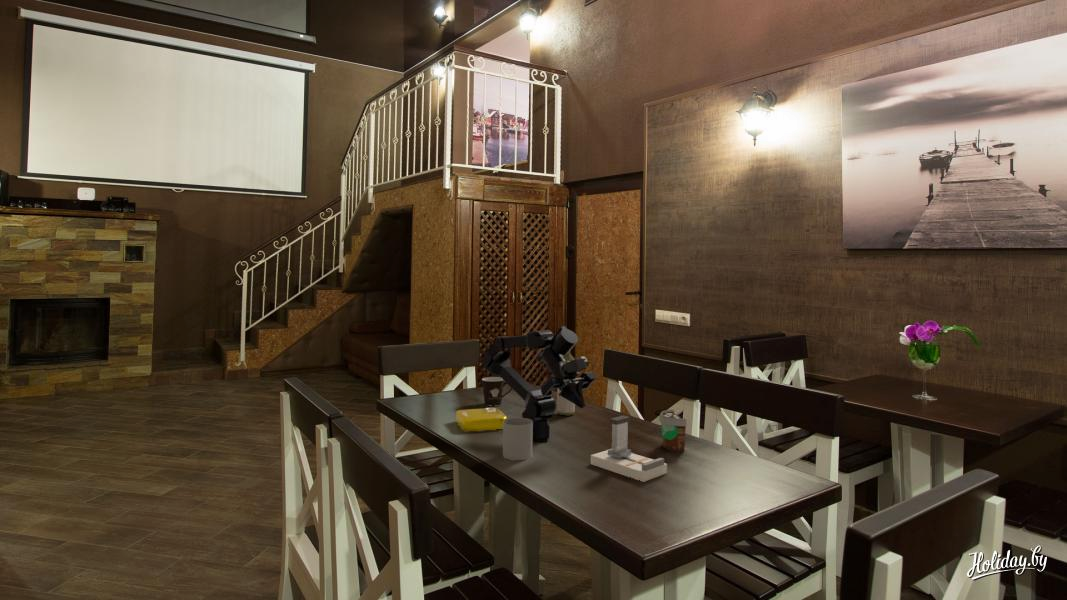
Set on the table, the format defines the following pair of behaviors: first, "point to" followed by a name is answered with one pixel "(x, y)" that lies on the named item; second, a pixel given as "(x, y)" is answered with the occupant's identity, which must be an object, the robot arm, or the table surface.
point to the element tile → (480, 419)
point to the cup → (517, 438)
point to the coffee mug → (493, 390)
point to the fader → (619, 437)
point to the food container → (672, 430)
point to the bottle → (563, 404)
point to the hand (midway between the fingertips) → (583, 407)
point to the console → (631, 465)
